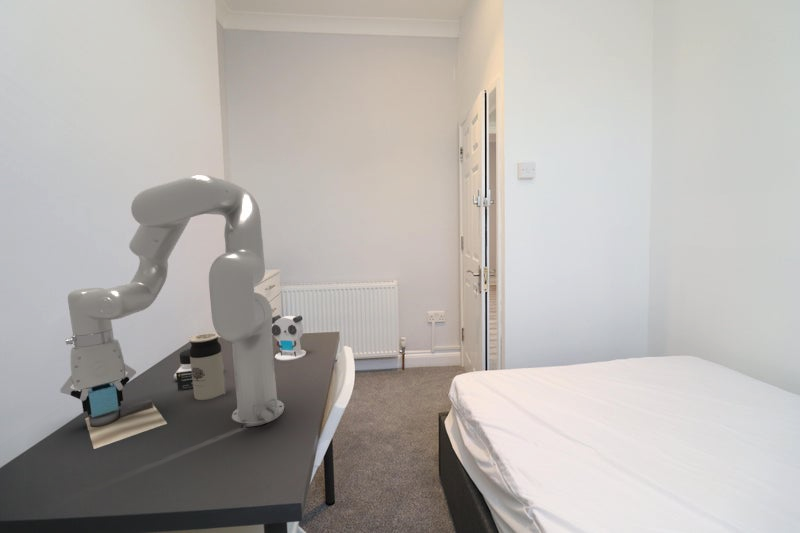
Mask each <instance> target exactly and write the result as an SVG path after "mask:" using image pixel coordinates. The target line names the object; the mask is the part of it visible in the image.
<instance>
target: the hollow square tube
mask: <svg viewBox="0 0 800 533" xmlns="http://www.w3.org/2000/svg"><path fill="white" fill-rule="evenodd" d="M87 395H88V397H89V401H90V408H91V415H92V417H95V416H98V415H102V414H105V413H108V412H111V411H115V410H118V409H119V408H120V406H119V407H118V400H117V393H116V386H115V384H114V382H111V383H108V384H104V385H100V386H96V387H92V388H89V390H88V394H87Z"/></svg>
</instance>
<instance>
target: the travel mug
mask: <svg viewBox="0 0 800 533" xmlns="http://www.w3.org/2000/svg"><path fill="white" fill-rule="evenodd" d="M219 337H220V336H219V335H218V334H217V332H208V333H207V332H206V333H201V334H197V335H194V336H191V337H190V338H189V340H188V341H189V342H190V344H191V347H190V348H189V349H190V350H189V353H190V362H191V371H192V380H193V389H192V390H193V396H194V399H195V400H200V401H205V400H206V401H207V400H210V399H211V400H212V399H215V398H218V397H220V396H222V395H226V383H225V382H226V381H225V373H224V372H225V371H224V368H223V367H224V363H223V354H222V345H221V344H220V342H219V340H218V339H219Z"/></svg>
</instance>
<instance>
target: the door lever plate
mask: <svg viewBox="0 0 800 533" xmlns="http://www.w3.org/2000/svg"><path fill="white" fill-rule="evenodd" d="M84 419H85V423H86V427H87V430H88V433H89V437H90V441H91V444H92V447H93V449H94V450H95V449H99V448H101V447H104V446H106V445H110V444H112V443H116V442H118V441H121V440H125V439H127V438H130V437H132V436H135V435H138V434H141V433H143V432H144V433H145V432H147V431H150V430H154V429H155V428H159V427H162V426H165V425H167V424H168V423H167V421H166V419H165V418H164V417H163V415H162V414H161V413H160V411H159V410H158V409H157V408H156V406H155V405H154V403H153V400H152V398H148V399H145V400H142V401H138V402H134V403H132V404H128V405H125V406H122V407H121V406H120V407H119V409H118V410H115V411H111V412H108V413H105V414H102V415H98V416H95V417H92V415H89V417H86V418H85V417H84Z"/></svg>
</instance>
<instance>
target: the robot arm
mask: <svg viewBox="0 0 800 533" xmlns="http://www.w3.org/2000/svg"><path fill="white" fill-rule="evenodd" d="M130 208H131V209H130V210H131V214H132V217H133V219H134V220H135V221H136V222H137V223H138V224H139V225H138V228H137V230H136V231H135V233H134V235H133V237H132V238H131V240H130V242H129V244H128V246H129V247H128V248H129V250H130V251H131V252H132V254H134V255H135V256H137V257H138V259H139V263H138V267H137V270H136V272H135V274H134V275H133V278H132V280H130V282H129V283H128V284H123V285H122V284H121V285H119V286H115V287H110V288H102V287H91V288H90V287H89V288H81V289H75V290H73V291H71V292H69V293H68V295H67V303H68V309H69V310H68V311H69V317H70V323H71V330H72V336H71V337H69V338H65V344H66V346H67V345H73V346H72V348H71V350H70V357H69V358H70V376H69V377H68V379H67V380H66V381H65V382H64V384H63V385H62V386H61V387H60V389H59V390H60V393H61V394H65V395H68V396H72V397H73V398H76V399H78V400H80V401H81V405H82V412H83V413H85V412H86V414H87V416H90V415H91V408H90V401H89V397H88V390H89V388H92V387H96V386H100V385H104V384H108V383H111V382H113V383H114V384H115V386H116V393H117V400H118V407H119V408H120V407H121V406H122V403H121V402H123V401H124V396H123V390H124V388H125V386H126V385H127V384H128V382H129V381H130V380H131V379H132V378H133V377H134V376H135V375H136V374H137V370H135V369H134V368H132V367H131V366H129V365H128V364H126V363H125V360H124V355H123V352H122V347H121V345H120V342H119V340H118V339H117V338H114V336H115V335H114V330H113V324H112V323H113V322H112V321H115V320H119V319H123V318H125V317H129V316H131V315H133V314H137V313H139V312H141V311H142V312H143V311H145V310H146V309H148V308H149V307H150V306H152V305H153V304H154V302H155V300H156V299H157V297H158V296H159V294H160V292H161V291H162V289H163V287H164V285H165V283H166V280H167V277H168V270H169V263H168V261H169V258H170V256H171V254H172V252H173V251H174V249H175V247H176V245H177V243H178V241H179V240H180V238H181V236H182V235H183V233H184V232H185V229H186V227H187V226H188V224H189V222H190V220H191V218H193V217H197V216H201V215H218V216H220V215H221V216H223V217H224V219H225V223H224V224H225V225H224V231H223V232H224V234H223V235H224V236H223V237H224V243H225V246H224V247H225V248H224V249H225V252H224V253H223V254H220V255H219V256H218V257H216V258H215V259H214V261H213V262H212V263H211V266H210V269H209V272H208V287H209V300H210V310H211V313H210V314H211V321H212V325H213V328H214V330H215V333H217V334H218V335H219V336H218V337H220V338H221V339H222V340H224V341H226V342H230V343H231V354H232V364H233V374H234V385H235V395H236V404H237V406H236V407H237V408H236V409H235V410H234V411H233V412H232V414H231V419H232V420H233V421H234V422H237V423H241V424H243V425H241V427H243V428H244V427H247V428H248V427H249V428H250V427H255V426H256V427H257V426H261V425H264V424H268V423H270V422H273V421H274V420H276V419H278V418H279V417H280V416H282V414H283V413H284V410H285V404H284V403H283V401H281V400H279V399H278V394H277V384H276V372H275V370H276V369H275V360H274V359H275V357H274V346H273V334H272V326H273V324H272V317H273V310H272V305H271V303H270V301H269V299H267V297H266V296H264V295H263V294H261V293H259V292H255V287H256V286H257V285H259V284H260V283H261V282H262V281H263V280H264V277H265V275H266V274H265V273H266V268H265V266H266V265H265V254H264V244H263V243H264V242H263V233H262V221H261V219H262V218H261V211H260V208H259V205H258V202H257V200H256V199H255V198H254V196H253V195H252V194H251V193H250V192H249V191H248V190H247V189H245V188H243V187H242V186H240V185H238V184H235V183H233V182H231V181H228V180H225V179H223V178H222V179H221V178H219V177H218V178H216V177H213V176H211V175H205V174H195V175H189V176H186V177H183V178H179V179H176V180H172V181H170V182H166V183H162V184H158V185H155V186H152V187H150V188H149V187H148V188H147V189H144V190H142V191H140V192H139V193H137V195H136V196H135V197H134V199H133V200H132V202H131V206H130ZM71 386H73V388H71Z"/></svg>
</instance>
